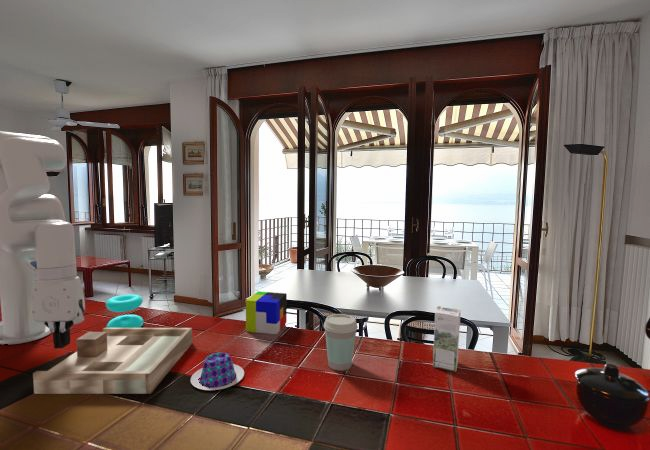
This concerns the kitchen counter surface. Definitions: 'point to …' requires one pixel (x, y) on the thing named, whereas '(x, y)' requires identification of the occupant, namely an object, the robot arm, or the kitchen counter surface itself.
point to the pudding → (217, 372)
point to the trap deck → (118, 363)
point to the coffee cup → (340, 340)
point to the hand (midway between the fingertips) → (62, 346)
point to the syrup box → (446, 338)
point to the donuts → (122, 305)
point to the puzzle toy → (266, 312)
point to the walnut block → (91, 344)
